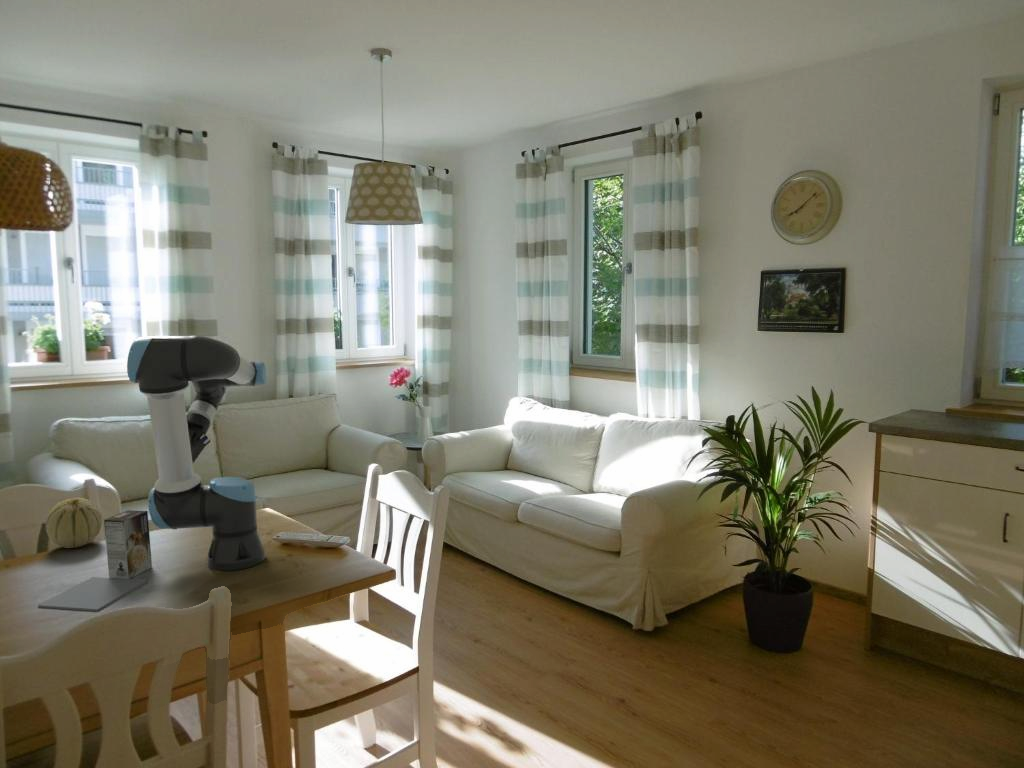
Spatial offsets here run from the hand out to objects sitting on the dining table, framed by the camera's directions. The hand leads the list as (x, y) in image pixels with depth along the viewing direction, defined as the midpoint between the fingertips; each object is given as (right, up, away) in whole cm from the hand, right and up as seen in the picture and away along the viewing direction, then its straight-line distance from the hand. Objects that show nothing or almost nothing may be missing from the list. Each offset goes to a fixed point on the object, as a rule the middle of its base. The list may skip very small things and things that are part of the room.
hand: (168, 484), depth 213 cm
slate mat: (-4, -23, -30) cm, 38 cm away
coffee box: (-3, -22, -16) cm, 27 cm away
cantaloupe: (-30, -20, +6) cm, 37 cm away
